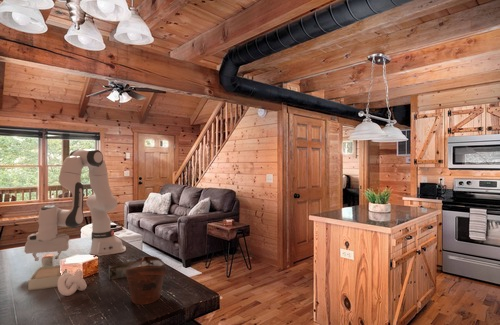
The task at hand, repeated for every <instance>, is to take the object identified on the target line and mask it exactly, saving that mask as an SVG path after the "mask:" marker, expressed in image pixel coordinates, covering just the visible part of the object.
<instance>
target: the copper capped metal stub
mask: <svg viewBox="0 0 500 325" xmlns="http://www.w3.org/2000/svg"><path fill="white" fill-rule="evenodd" d="M55 256H56V255H55V254H54V253H51V254H50V253H49V254H44V255H43V256H42V258H41V267H47V266H56V264H55V262H56V259H55Z"/></svg>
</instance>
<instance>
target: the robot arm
mask: <svg viewBox="0 0 500 325" xmlns="http://www.w3.org/2000/svg"><path fill="white" fill-rule="evenodd" d="M84 167H87V169H88V175H89V176H88V177H89V184H90V185H89V186H90V189H91V190H92V191H93V193H94V194H91V195H89V196H88V197H87V198H86V201H85V202H86V206H87V207H88V209H89V212H90V215H91V219H92V220H91V222H92V227H91V228H92V230H91V231H92V232H91V234H90V235H91V245H90V246H91V247H90V250H89V254H90V255H91V256H92V255H94V256H97V257H98V256H99V257H100V256H101V257H102V256H108V255H113V254H121V253H124V252H126V250H127V248H126V246H125V245H123V242H122V241H123V240H122V239H121V238H119V237H117V236H116V235H115V231H114V230H112V228H111V225H112V224H111V217H110V216H109V214H108V212H112V211H114V210H116V209H117V207H118V200H117V199H116V197H115V196H114V194H113V192H112V190H111V186H110V183H109V175H108V168H107V164H106V161H105V160H104V155H103V153H102V151H101V150H99V149H96V148H84V149H76V150H73V151H71V152H70V153H69V155H68V156H66V158H65V159H64V160H63V163H62V165H61V168H60V172H59V175H58V183H59V185H60V186H61V187H62V188H64V189H66V190H67V191H69V192H70V193H71V195H72V198H71V199H72V200H71V208H70V209H63V208H60V207H58V206H57V205H56V204H49V205H44V206H42V207H41V208H40V209H39V212H38V219H37V220H38V229H37V232H33V233H31V234H29V235H28V236H27V238H26V240H27V241H25V245H24V251H23V252H24V253H25V254H27V255H28V254H32V257H33V258H34V262H38V261H39V260H40V257H39V256H38V255H37V254H40V253H53V252H56V253H57V255H55V260H59V258H60V254H61V253H62V252H65V251H68V250H69V241H70V236H69V234H66V233H62V234H61V233H60V234H58V227H67V228H72V229H75V228H76V229H77V228H78V227H79V226H81V224H82V223H83V222H84V216H85V215H84V192H85V190H84V189H85V188H84V184H83V183H82V180H81V179H82V178H81V176H82V171H83V168H84Z"/></svg>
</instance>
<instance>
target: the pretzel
mask: <svg viewBox="0 0 500 325" xmlns="http://www.w3.org/2000/svg"><path fill="white" fill-rule="evenodd" d="M83 272H84V271H83V270H81V269H80V270H77V271H76V272H75V273H74V274H72V273H70V272H69V273H65V274H63V275H62V276H60V278H59V279H58V284H57V285H58V287H57V290H58V292H59V293H60V294H61V295H63V296H65V297H68V296H72V295H74V293H76V291H80V292H81V291H85V290H86V289H87V287H88V286H87V282H86V280H85V278H83V276H84V273H83Z"/></svg>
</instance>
